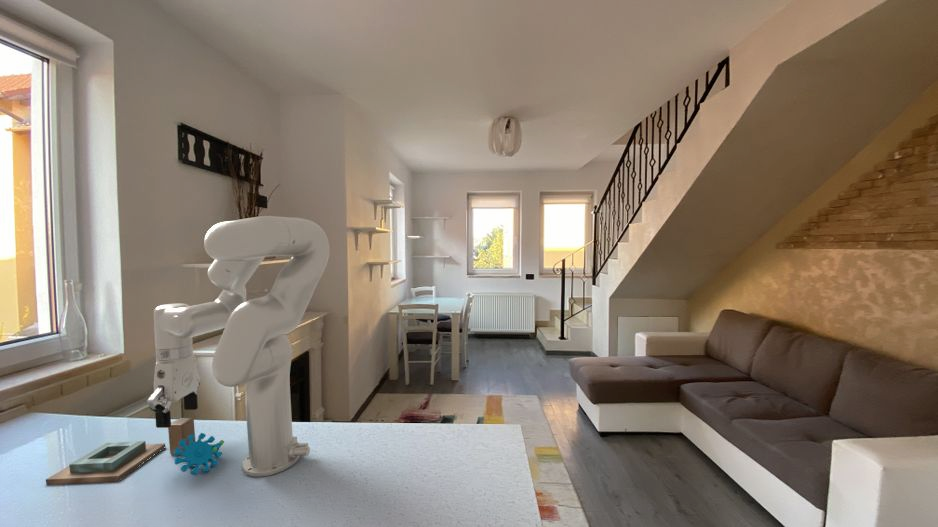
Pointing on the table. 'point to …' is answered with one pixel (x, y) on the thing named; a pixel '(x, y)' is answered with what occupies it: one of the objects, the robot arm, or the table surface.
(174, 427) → the wooden block
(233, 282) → the robot arm
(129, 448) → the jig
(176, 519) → the table surface
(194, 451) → the gear
